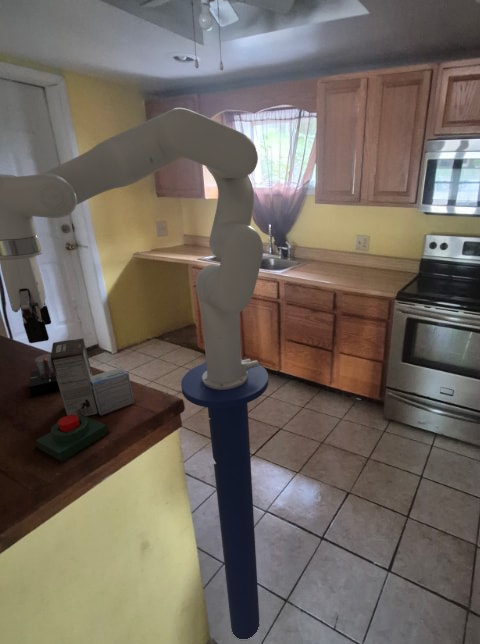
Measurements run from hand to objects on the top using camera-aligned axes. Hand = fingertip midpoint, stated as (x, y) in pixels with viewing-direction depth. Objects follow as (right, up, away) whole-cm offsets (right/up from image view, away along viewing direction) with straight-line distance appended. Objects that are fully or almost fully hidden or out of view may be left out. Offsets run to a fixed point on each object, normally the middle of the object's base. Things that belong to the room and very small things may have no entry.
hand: (41, 332), depth 75 cm
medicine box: (+8, -18, +15) cm, 25 cm away
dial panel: (-14, -14, +24) cm, 31 cm away
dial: (-14, -11, +23) cm, 29 cm away
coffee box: (0, -18, +14) cm, 23 cm away
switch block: (+5, -23, +3) cm, 24 cm away
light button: (+5, -20, +2) cm, 20 cm away
